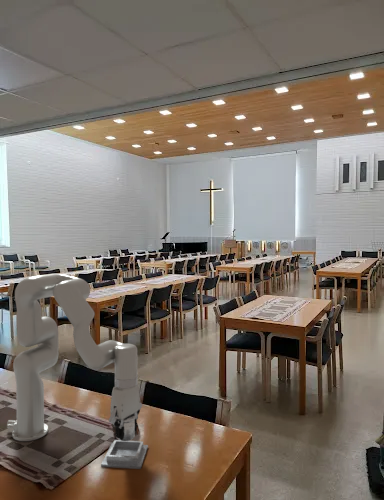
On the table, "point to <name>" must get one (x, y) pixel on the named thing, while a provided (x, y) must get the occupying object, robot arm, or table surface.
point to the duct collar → (125, 454)
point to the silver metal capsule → (128, 427)
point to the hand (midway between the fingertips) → (126, 433)
